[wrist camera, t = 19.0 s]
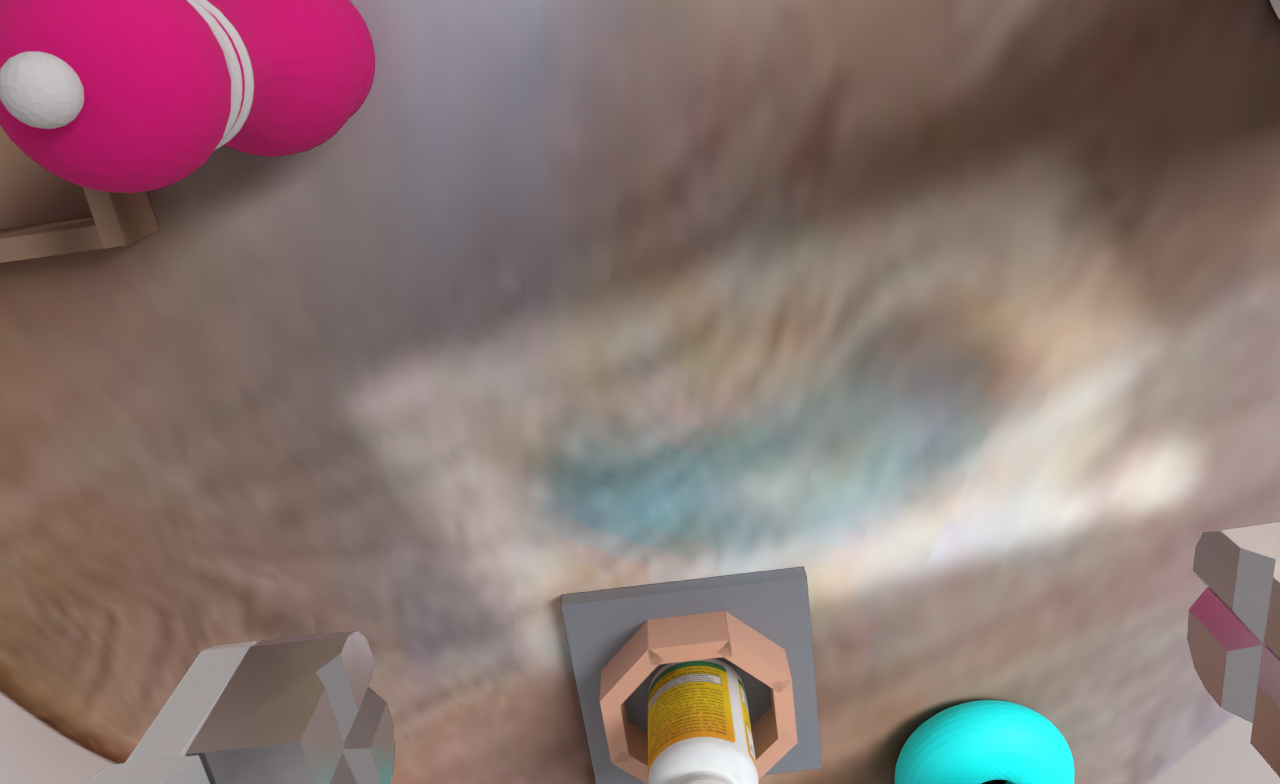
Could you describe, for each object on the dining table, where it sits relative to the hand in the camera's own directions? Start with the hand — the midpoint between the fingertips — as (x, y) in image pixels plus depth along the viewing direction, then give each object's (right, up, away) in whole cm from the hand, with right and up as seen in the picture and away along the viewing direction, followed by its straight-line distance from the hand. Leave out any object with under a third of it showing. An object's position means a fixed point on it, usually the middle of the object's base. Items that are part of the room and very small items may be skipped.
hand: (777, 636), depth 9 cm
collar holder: (+2, -14, +43) cm, 46 cm away
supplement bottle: (+2, -14, +43) cm, 45 cm away
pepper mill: (-16, +17, +31) cm, 39 cm away
